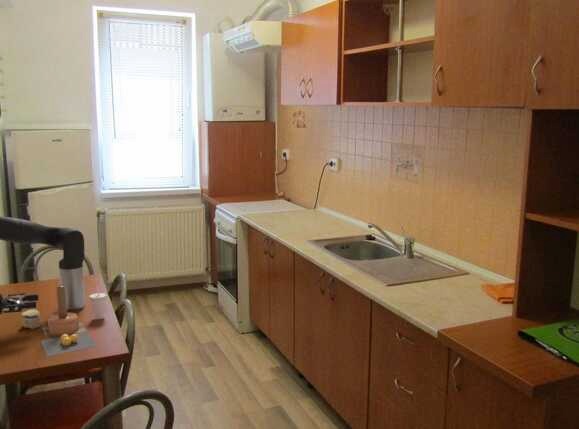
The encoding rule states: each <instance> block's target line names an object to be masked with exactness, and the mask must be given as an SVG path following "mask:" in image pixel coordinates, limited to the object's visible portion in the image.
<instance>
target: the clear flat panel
mask: <svg viewBox="0 0 579 429" xmlns="http://www.w3.org/2000/svg"><path fill="white" fill-rule="evenodd" d="M78 320H79V329H77V330H76V331H74V332H72V333H67V335H68V336H70V335H73V334H81V333H86V332H88V330H87V328H86V327H85V326H84V324H83V322H82V321H81V319H78ZM40 329H41V330H42V333H43V335H44V336H45V340H48V339H53V338H59V337H61V336H62V335H64V334H61V335H58V334H50V332H49V330H48V324H47V325H43V326H41V325H40ZM88 333H89V332H88Z"/></svg>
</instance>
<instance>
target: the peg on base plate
mask: <svg viewBox="0 0 579 429" xmlns="http://www.w3.org/2000/svg"><path fill="white" fill-rule="evenodd" d="M56 297H57V298H56V299H57V302H56V303H57V313H56V314H53V315H50V316H49V317H48V319H47V325H48V330H49V332H50V334H58V335H61V334H67V333H72V332H74V331H76V330H77V329H79V320H80V319H79V317H78V314H76V313H73V312H68V310H67V304H66V289H65V285H60V284H58V285H56Z"/></svg>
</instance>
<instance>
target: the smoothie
mask: <svg viewBox="0 0 579 429" xmlns="http://www.w3.org/2000/svg"><path fill="white" fill-rule="evenodd" d="M96 290H97V292H96V293H93V294H92V293H91V294H90V295H89V300H90V303H91V304H90V305H91V310H92V314H93V319H94V320H102V319H104V318H105V311H106V303H107V302H106V300H107V298H108V296H107V294H106V293H104V292H100V284H99V283H98V284H97V288H96Z"/></svg>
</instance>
